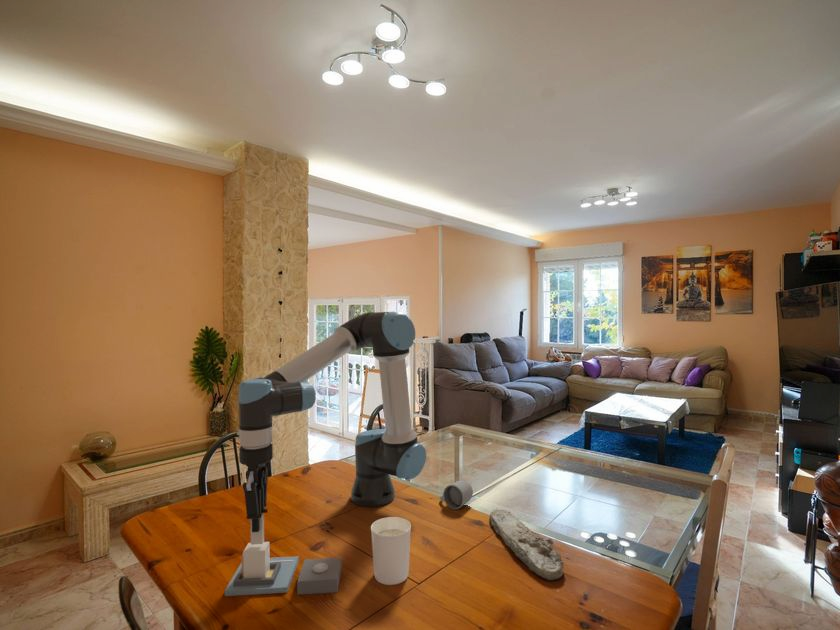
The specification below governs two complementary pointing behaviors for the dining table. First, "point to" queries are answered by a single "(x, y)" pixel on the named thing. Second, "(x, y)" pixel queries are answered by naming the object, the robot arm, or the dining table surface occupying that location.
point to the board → (265, 579)
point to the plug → (256, 561)
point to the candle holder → (391, 549)
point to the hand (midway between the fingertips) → (257, 542)
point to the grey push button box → (319, 576)
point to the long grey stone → (528, 545)
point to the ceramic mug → (457, 494)
